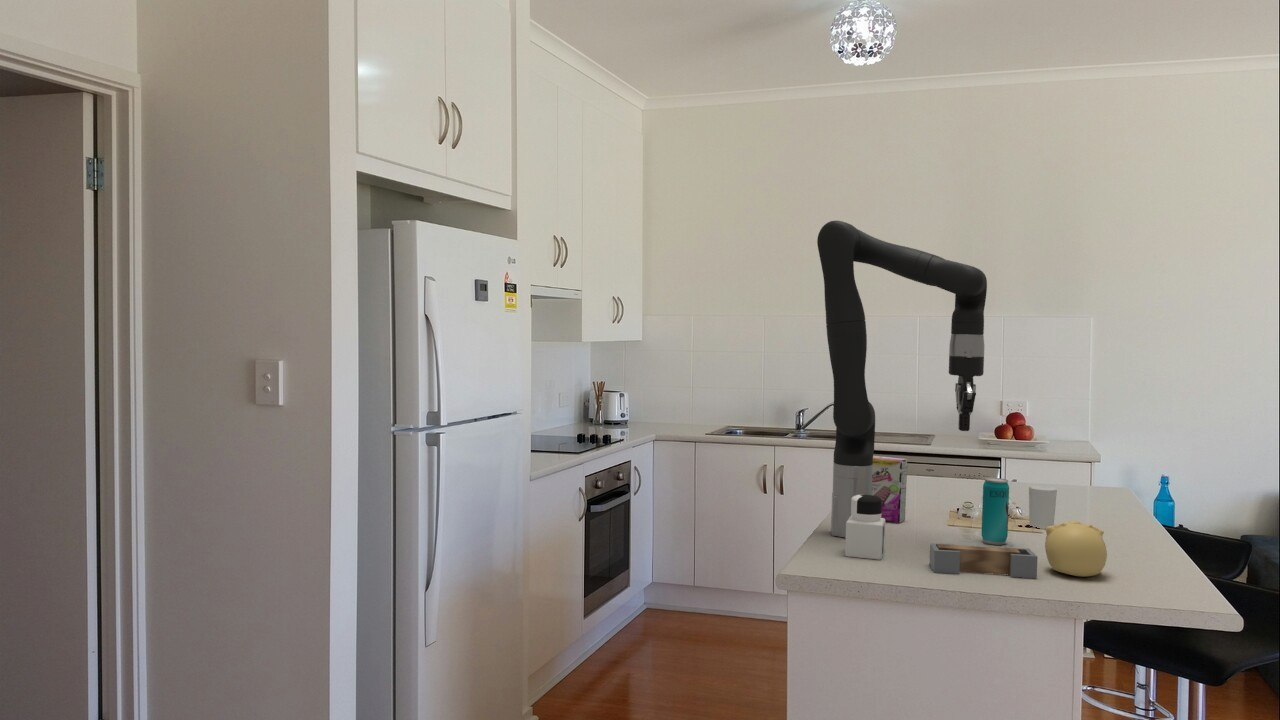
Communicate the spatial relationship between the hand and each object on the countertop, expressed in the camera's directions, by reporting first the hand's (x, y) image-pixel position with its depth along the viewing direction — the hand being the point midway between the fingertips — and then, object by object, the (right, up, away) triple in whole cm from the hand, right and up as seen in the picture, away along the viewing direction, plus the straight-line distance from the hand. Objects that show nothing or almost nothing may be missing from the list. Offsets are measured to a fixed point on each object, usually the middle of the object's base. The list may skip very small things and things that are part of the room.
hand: (963, 430), depth 219 cm
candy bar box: (-11, -26, +32) cm, 42 cm away
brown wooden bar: (-4, -28, -20) cm, 34 cm away
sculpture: (+16, -28, -20) cm, 38 cm away
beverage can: (+10, -27, +7) cm, 30 cm away
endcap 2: (+4, -28, -21) cm, 35 cm away
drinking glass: (+29, -27, +27) cm, 48 cm away
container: (-24, -27, -7) cm, 37 cm away
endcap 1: (-10, -27, -19) cm, 35 cm away
